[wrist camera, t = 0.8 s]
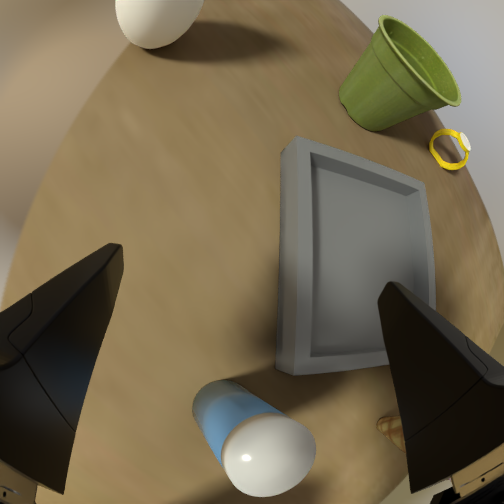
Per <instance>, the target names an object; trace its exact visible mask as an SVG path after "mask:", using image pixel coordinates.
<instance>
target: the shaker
mask: <svg viewBox="0 0 504 504" xmlns="http://www.w3.org/2000/svg"><path fill="white" fill-rule="evenodd" d="M192 412H193V416H194V419H195V421H196V423H197V424H198V426H199V428H200V430H201V432H202V433H203V435H204V437H205V439H206V440H207V442H208V444H209V446H210V447H211V449H212V451H213V452H214V454H215V456H216V457H217V459H218V461H219V462H220V464H221V466H222V467H223V469H224V470H225V472H226V474H227V475H228V477H229V478H230V480H231V481H232V483H233V484H234V486H235V487H236V488H237V489H239V490H240V491H241V492H243V493H245V494H248V495H251V496H256V497H268V496H274V495H278V494H281V493H283V492H285V491H288V490H289V489H291V488H293V487H294V486H295V485H297V484H298V483H299V482H300V481H301V480H302V479H303V478H304V477H305V476H306V475H307V473H308V472H309V470H310V469H311V467H312V465H313V462H314V459H315V455H316V444H315V440H314V437H313V435H312V434H311V432H310V431H309V430H308V429H307V428H306V427H305V426H304V425H302V424H300V423H298V422H297V421H295V420H293V419H292V418H290V417H288V416H287V415H285V414H284V413H282V412H280V411H279V410H277V409H275V408H274V407H272V406H271V405H269V404H268V403H266V402H264V401H263V400H261V399H260V398H258V397H257V396H255V395H254V394H252V393H251V392H249V391H248V390H246V389H245V388H243V387H242V386H240V385H239V384H237V383H235V382H232V381H228V380H218V381H214V382H211V383H209V384H207V385H205V386H204V387H203V388H201V390H200V391H199V392H198V393H197V394H196V396H195V398H194V401H193V406H192Z"/></svg>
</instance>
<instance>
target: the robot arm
mask: <svg viewBox="0 0 504 504" xmlns="http://www.w3.org/2000/svg"><path fill="white" fill-rule="evenodd" d="M123 270H124V261H123V247H122V245H121V244H115V243H109V244H107V245H105V246H103V247H102V248H100V249H98V250H97V251H95V252H93V253H92V254H90V255H88V256H87V257H85V258H83V259H82V260H80V261H79V262H77V263H75V264H74V265H72V266H71V267H69V268H67V269H66V270H64V271H63V272H61V273H60V274H58V275H57V276H55V277H53V278H52V279H50V280H49V281H47V282H46V283H44V284H43V285H41V286H40V287H38V288H37V289H35V290H34V291H32V293H29V294H28V295H26V296H25V297H24V298H22V299H21V300H19V301H18V302H16V303H15V304H13V305H12V306H10V307H9V308H7V309H5V310H4V311H2V312H0V504H36V503H35V497H36V491H37V486H38V485H39V486H42V487H44V488H47V489H49V490H52V491H54V492H57V493H59V494H62V495H63V494H64V490H65V484H66V478H67V472H68V467H69V462H70V457H71V452H72V448H73V443H74V439H75V432H76V430H77V426H78V422H79V418H80V414H81V410H82V406H83V403H84V399H85V395H86V392H87V388H88V385H89V382H90V378H91V375H92V372H93V369H94V366H95V362H96V359H97V356H98V353H99V350H100V347H101V344H102V341H103V339H104V336H105V333H106V330H107V327H108V325H109V322H110V319H111V316H112V313H113V309H114V305H115V301H116V297H117V294H118V290H119V286H120V282H121V279H122V275H123ZM377 305H378V311H379V316H380V322H381V328H382V335H383V340H384V344H385V348H386V352H387V357H388V361H389V365H390V369H391V374H392V378H393V383H394V387H395V392H396V397H397V402H398V407H399V413H400V418H401V424H402V430H403V436H404V441H405V450H406V457H407V465H408V473H409V482H410V490H411V494H413V493H415V492H418V491H421V490H423V489H426V488H428V487H431V486H433V485H436V484H438V483H440V482H442V481H445V480H447V479H449V478H451V482H452V485H453V487H451V488H449V489H446V490H444V491H442V492H440V493H438V494H436V495H434V496H433V498H432V500H431V502H430V504H504V366H502V365H501V364H500V363H499V362H497V361H496V360H495V359H493V358H492V357H491V356H490V355H489V354H487V353H486V352H485V351H484V350H482V349H481V348H480V347H479V346H477V345H476V344H475V343H474V342H473V341H471V340H470V339H469V338H468V337H467V336H465V335H464V334H463V333H462V332H461V331H460V330H458V329H457V328H456V327H455V326H453V325H452V324H451V323H450V322H449V321H447V320H446V319H445V318H444V317H443V316H441V315H440V314H439V313H438V312H436V311H435V310H434V309H433V308H431V307H430V306H429V305H428V304H426V303H425V302H424V301H422V300H421V299H420V298H419V297H417V296H416V295H415V294H414V293H412V292H411V291H410V290H408V289H407V288H406V287H404V286H403V285H402V284H400V283H399V282H394V281H389V282H387V283H386V285H385V287H384V289H383V290H382V292H381V294H380V296H379V298H378V301H377Z"/></svg>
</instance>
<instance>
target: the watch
mask: <svg viewBox="0 0 504 504" xmlns="http://www.w3.org/2000/svg"><path fill="white" fill-rule="evenodd" d="M441 135H451V136H453V137H454V138H456V139H457V140H458V142H459V144H460V146H461V148H462V149H463V150H464V151H465V158H464V160H462V161H461V162H459V163H453V164H450V163H447V162H445V161H443V160H442V159H441V157H440V156H439V155H438V153H437V152H436V151H435V149H434V148H433V141H434V139H435V138H436V137H438V136H441ZM470 150H471V147H470V143H469V141H468V139H467V137H466V136H465V135H464V134H463V133H462V132H460V133H458V132H455V131H454V130H451V129H441V130H439V131H437V132H435V133H434V135H433V136H432V138H431V140H430V143H429V151H430V152H431V154H432V155H433V156H434V158H435V159H436V160H437V162H438V163H439V165H440V166H441V167H443V168H445V169H448V170H457V169H460V168H461V167H463V166H464V165H465V164H466V162H467V160H468V155H469V151H470Z"/></svg>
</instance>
